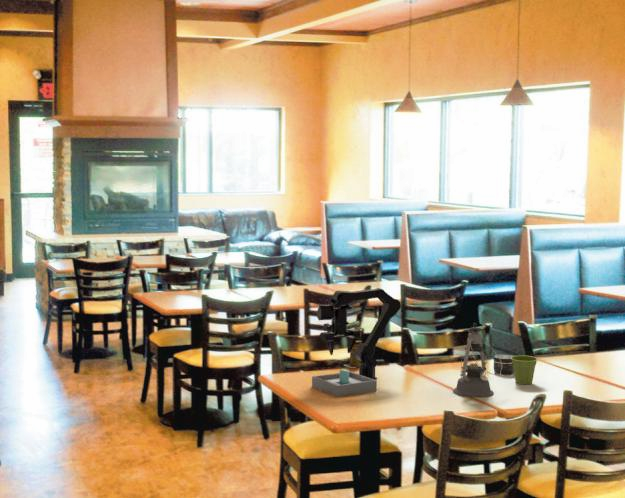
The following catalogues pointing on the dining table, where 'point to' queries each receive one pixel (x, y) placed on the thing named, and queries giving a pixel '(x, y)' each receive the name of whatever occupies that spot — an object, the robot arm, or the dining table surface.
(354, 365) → the condiment
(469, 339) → the lantern
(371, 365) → the robot arm
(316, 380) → the box
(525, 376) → the plant pot
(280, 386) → the dining table surface
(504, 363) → the jar
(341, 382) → the peg
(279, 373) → the dining table surface
